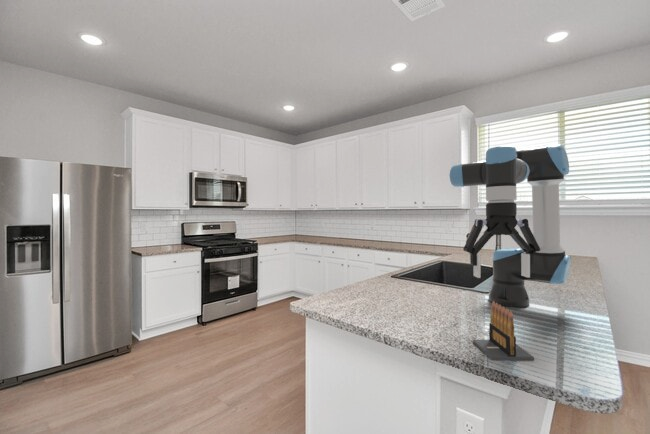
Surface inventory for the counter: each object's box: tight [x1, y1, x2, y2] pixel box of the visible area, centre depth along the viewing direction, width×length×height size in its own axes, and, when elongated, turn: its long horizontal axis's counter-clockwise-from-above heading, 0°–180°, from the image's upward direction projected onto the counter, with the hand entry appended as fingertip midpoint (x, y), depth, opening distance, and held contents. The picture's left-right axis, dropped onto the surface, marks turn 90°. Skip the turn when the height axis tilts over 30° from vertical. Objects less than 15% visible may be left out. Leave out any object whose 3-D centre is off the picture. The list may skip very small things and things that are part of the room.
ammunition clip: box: [488, 301, 517, 356], centre depth 86 cm, size 11×2×12 cm, turn 178°
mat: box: [472, 339, 535, 361], centre depth 86 cm, size 11×11×1 cm
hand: (501, 276), depth 87 cm, fingers open, 13 cm apart
